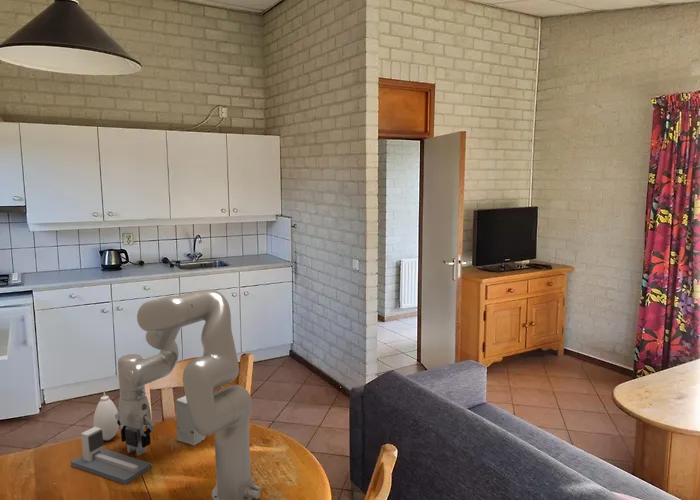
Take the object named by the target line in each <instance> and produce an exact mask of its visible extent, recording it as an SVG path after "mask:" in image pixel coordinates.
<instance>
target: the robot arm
mask: <svg viewBox="0 0 700 500" xmlns="http://www.w3.org/2000/svg"><path fill="white" fill-rule="evenodd" d="M137 310H138V311H137V314H136V319H137V324H138V326H139V328H141V330H143V331H144V332H145V341H146V342H147V343H148V345H149V346H150V347H152V348H153V349H156V350H160V351H159V353H157V354H155V355H152V356H150V357H146V358H144V359H143V356H142V355H140V354H138V353H128V354H125V355H122V356H121V357H119V358H118V360H117V370H118V372H117V373H118V382H119V385H118V386H119V400H118V401H119V402H118V403H119V404H118V413H117V414H116V415H115V418H116V420H117V423H118V425H119V428H118V430H120V437H121V442H123V443H125V442H126V438H125V429H126V427H127V426H128V427H132V428H135V429H139V430H140V432H141V434H142V435H143V436H141V444H142V448H144V447H148V446H149V445H151V434H152V432H153V431H154V428H155V425H156V424H155V423H156V422H154V421H153V420H152V413H151V407H150V403H149V399H148V396H147V395H146V394H147V393H146V389H145V387H146V386H145V385H148V384H150V383H152V382H155V381H157V380H160V379H163V378H165V377H167V376H168V375H169V374H171V373H172V371H173V370H174V368H175V367H176V364H177V362H178V360H179V347H178V345H177V342H176V338H177V337H178V334H179V332H180V330H181V328H183V327H186V326H189V325H193V324H195V323H199V322H202V321H204V325H203V327H202V332H201V335H200V336H201V337H200V338H201V339H200V341H201V345H202V352H203V355H202V356H199V357H196V358H195V359H192V360H190V361H189V362H187V364H186V365H185V367H184V369H183V373H182V382H183V383H182V385H183V389H184V394H185V395H184V396H186V400H187V405H188V409H189V414H190V418H191V422H192V425H193V427H194V428H195V430H196V431H197V432H198V433H199V434H201V435H203V436H205V437H207V436H212V435H214V453H215V455H214V456H215V473H216V474H215V476H216V485H215V486H214V487H213V489H212V491H211V499H212V500H253V499H257V500H258V499H259V498H260V496H261V491H262V486H260V485H256V482H255V478H254V477H252V476H251V475H252V474H251V470H252V469H251V453H250V452H251V448H250V447H251V446H250V420H251V414H252V407H253V404H252V396H251V394H250V393H249V391H248V390H247V389H246V388H245V387H244V386H240V385H237V384H236V385H235V384H234V385H229V386H227V387H225V388H221V389H220V390H219V391H217V392H214V390H216V389H218V388H220V387H223V386H225V385H227V384H229V383H231V382H232V381H234V380H236V379H237V378H238V376H239V374H240V367H239V366H240V365H239V360H238V355H237V351H236V350H237V349H236V346H235V345H236V344H235V340H234V335H233V331H232V314H231V307H230V304H229V302H228V300H227V298H226V297H225V296H224V295H223V294H222V293H221V292H220V291H217V290H215V289H200V290H196V291H191V292H188V293H187V292H186V293H184V294H179V295H176V296H175V295H171V296H164V297H161V298H156V299H153V300H149V301H146V302H144V303H142V304H141V306H139V308H138V309H137ZM143 428H144V429H143Z"/></svg>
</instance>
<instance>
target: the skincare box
mask: <svg viewBox="0 0 700 500" xmlns="http://www.w3.org/2000/svg"><path fill="white" fill-rule="evenodd" d="M205 438H206V436H203V435H201V434H199V433H198V432H197V431H196V430H195V428H194V427H193V425H192V422H191V418H190V414H189V409H188V405H187V400H186V395H184V396H181V397H180V398H179V397H178V398H177V399H176V440H177V441H178V442H182V443H186V444H188V445H191V446H196V445H197V444H199V443H201V442H203V441H204V440H206V439H205ZM202 440H203V441H202Z"/></svg>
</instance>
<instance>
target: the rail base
mask: <svg viewBox="0 0 700 500" xmlns="http://www.w3.org/2000/svg"><path fill="white" fill-rule="evenodd" d="M80 435H81V436H80V437H81V438H80V439H81V447H82V449H81V450H82V455H80V456H79V457H77V458H75V459H73V460H71V461H70V466H71V467H72V466H73V468H76V469H77V470H78V469H79V470H82V471H85V472H88V473H91V474H93V475H96V476H98V477H102V478H105V479H108V480H111V481H114V482H116V483H120V484H122V485H125V486H126V485H128V484H130V483H132V482H133V481H134V480H136V479H138V478H139V477H140V476H141V475H144V474H145V473H146V472H148V471H149V470H151V469H152V468H153V466H152V465H153V463H151V462H148V461H146V460H142V459H138V458H135V457H132V456H130V455H126V454H122V453H119V452H116V451H113V450H110V449H106V448H104V447H103V446H104V440H103V434H102V430H101V428H98V427H94V426H93V427H91V428H89V429H86V430H85V431H83V432H81V434H80Z"/></svg>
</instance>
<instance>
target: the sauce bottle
mask: <svg viewBox="0 0 700 500" xmlns="http://www.w3.org/2000/svg"><path fill="white" fill-rule="evenodd" d="M117 413H119V410H118V408H117V406H116V404H114V402H113V400H111V398H110V397H109V395H106V391H105V389H103V396H101V397H100V400H99V401H98V403H97V406H96V408H95V411H94V415H93V427H98V428H101V430H102V434H103V441H110V440H111V439H113V438H114V437H115V436H116V435H117V433H118V430H119V427H120V426H119V425H118V423H117V420H116V418H115V415H116V414H117Z"/></svg>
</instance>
